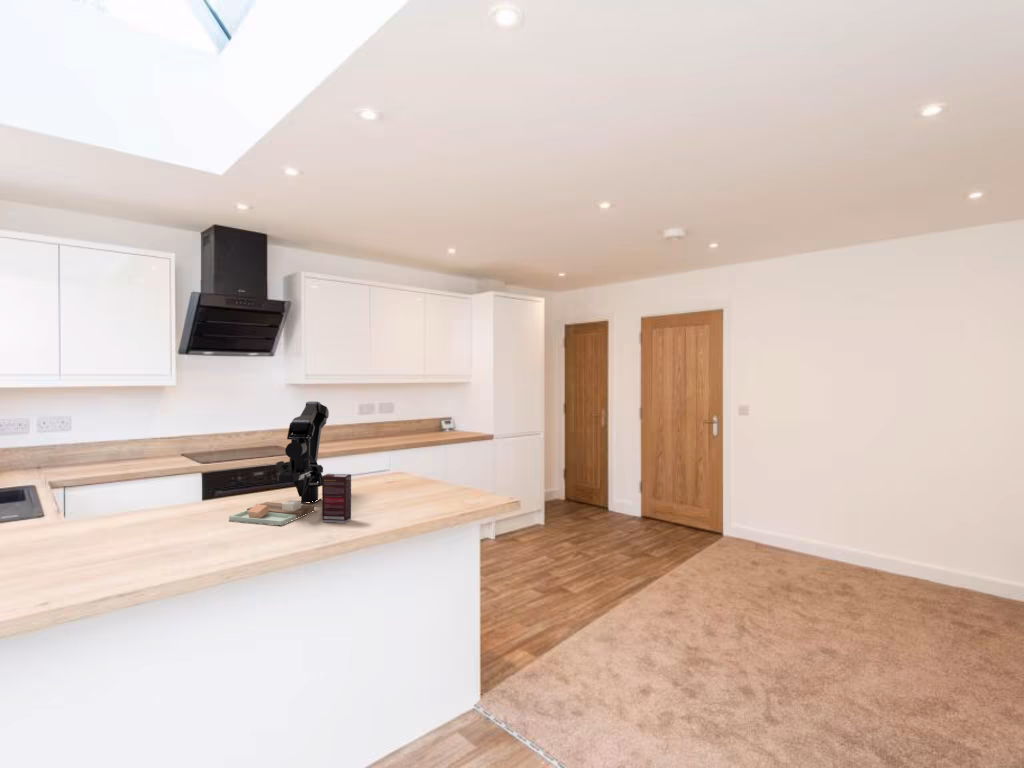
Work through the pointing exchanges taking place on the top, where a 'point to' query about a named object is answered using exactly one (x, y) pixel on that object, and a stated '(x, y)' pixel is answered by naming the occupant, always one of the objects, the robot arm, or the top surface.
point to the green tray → (263, 518)
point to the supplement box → (336, 498)
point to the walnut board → (278, 509)
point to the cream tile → (291, 505)
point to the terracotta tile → (258, 511)
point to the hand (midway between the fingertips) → (301, 496)
